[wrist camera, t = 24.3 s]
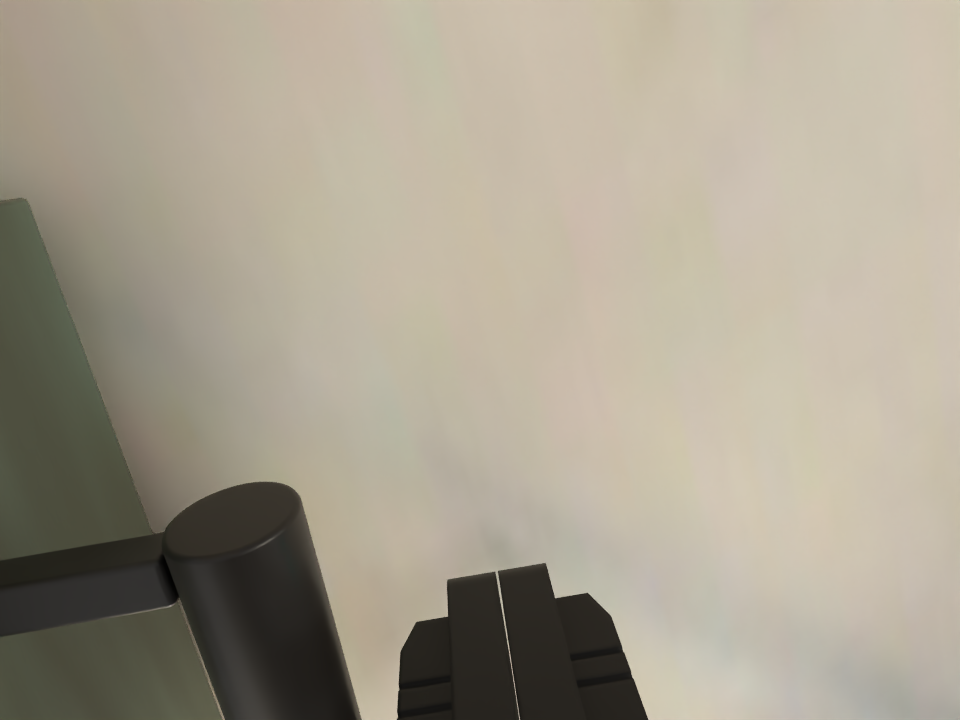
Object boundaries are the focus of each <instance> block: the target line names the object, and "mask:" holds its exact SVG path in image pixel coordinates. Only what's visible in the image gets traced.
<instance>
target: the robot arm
mask: <svg viewBox="0 0 960 720" xmlns="http://www.w3.org/2000/svg"><path fill="white" fill-rule="evenodd" d="M498 574H499V581H500V588H501V594H502V601H503V608H504V615H505V621H506V628H507V635H508V641H509V648H510V655H511V661H512V668H513V675H514V681H515V688H516V695H517V702H518V708H519V715H520V720H648V718H647V715H646V712H645V709H644V707H643V704H642V701H641V698H640V695H639V693H638V690H637V687H636V684H635V682H634V679H633V678H632V675H631V670H630V668H629V665H628V662H627V659H626V656H625V654H624V652H623V650H622V645H621V642H620V640H619V637H618V634H617V631H616V628H615V626H614V623H613V620H612V617H611V616H610V615H609V614H608V613H607V612H606V611H605V610H604V609H603V608H602V607H601V606H600V605H599V604H598V603H597V602H596V601H595V600H594V599H593V598H592V597H591V596H590V595H589V594H588V593H585V594H579V595H573V596H567V597H561V598H555V597H554V593H553V589H552V585H551V581H550V577H549V573H548V570H547V566H546V563H543V564H537V565H531V566H525V567H519V568H513V569H507V570H501V571H498ZM447 595H448V617H443V618H437V619H431V620H425V621H420V622H416V624H415V625H414V627H413V629H412V631H411V633H410V635H409V637H408V639H407V641H406V642H405V644H404V646H403V648H402V650H401V653H400V672H399V691H398V709H397V712H398V719H397V720H519V715H518V708H517V702H516V695H515V688H514V682H513V675H512V669H511V663H510V656H509V650H508V644H507V638H506V632H505V626H504V621H503V615H502V609H501V603H500V597H499V591H498V585H497V579H496V574H495V572H490V573H484V574H478V575H472V576H466V577H460V578H454V579H448V580H447Z"/></svg>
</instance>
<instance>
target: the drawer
mask: <svg viewBox="0 0 960 720" xmlns="http://www.w3.org/2000/svg"><path fill="white" fill-rule="evenodd" d="M179 598H180V600H181V602H182V605H183V608H184V610H185V613H186V616H187V619H188V621H189V624H190V627H191V629H192V632H193V635H194V637H195V640H196V643H197V645H198V648H199V651H200V653H201V656H202V659H203V661H204V664H205V667H206V669H207V672H208V675H209V677H210V680H211V683H212V686H213V688H214V691H215V694H216V696H217V699H218V702H219V704H220V707H221V710H222V712H223V715H224V718H225V720H362V719H361V715H360V712H359V708H358V704H357V701H356V697H355V694H354V690H353V686H352V683H351V679H350V675H349V672H348V668H347V664H346V661H345V657H344V654H343V650H342V646H341V643H340V639H339V635H338V632H337V628H336V624H335V621H334V617H333V614H332V610H331V606H330V603H329V599H328V595H327V592H326V588H325V584H324V581H323V577H322V574H321V570H320V566H319V563H318V559H317V555H316V552H315V548H314V545H313V541H312V537H311V534H310V530H309V526H308V523H307V519H306V515H305V512H304V508H303V505H302V501H301V498H300V496H299V495H298V493H297V492H296V491H295V490H294V489H293V488H291V487H289V486H288V485H285V484H282V483H277V482H253V483H247V484H241V485H237V486H233V487H230V488H227V489H224V490H221V491H218V492H216V493H213V494H211V495H209V496H207V497H205V498H203V499H201V500H199V501H197V502H195V503H194V504H192V505H191V506H189V507H188V508H186V509H185V510H183V511H182V512H181V513H180V514H178V515H177V516H176V517H175V518H174V519H173V520H172V521H171V523H170V524H169V525H168V527H167V528H166V530H165V532H163V533H157V534H152V531H151V528H150V526H149V523H148V520H147V518H146V515H145V512H144V510H143V507H142V504H141V502H140V499H139V496H138V494H137V491H136V488H135V486H134V483H133V480H132V478H131V475H130V472H129V470H128V467H127V464H126V462H125V459H124V456H123V454H122V451H121V448H120V446H119V443H118V440H117V438H116V435H115V432H114V430H113V427H112V424H111V422H110V419H109V416H108V414H107V411H106V408H105V406H104V403H103V400H102V398H101V395H100V392H99V390H98V387H97V384H96V382H95V379H94V376H93V374H92V371H91V368H90V366H89V363H88V360H87V358H86V355H85V352H84V350H83V347H82V344H81V342H80V339H79V336H78V334H77V331H76V328H75V326H74V323H73V320H72V318H71V315H70V312H69V310H68V307H67V304H66V302H65V299H64V296H63V294H62V291H61V288H60V286H59V283H58V280H57V278H56V275H55V272H54V270H53V267H52V264H51V262H50V259H49V256H48V254H47V251H46V248H45V246H44V243H43V240H42V238H41V235H40V232H39V230H38V227H37V224H36V222H35V219H34V216H33V214H32V211H31V208H30V206H29V203H28V201H27V200H26V199H24V198H17V199H10V200H4V201H0V720H222V717H221V715H220V712H219V709H218V707H217V704H216V701H215V699H214V696H213V693H212V691H211V688H210V685H209V683H208V680H207V677H206V675H205V672H204V669H203V667H202V664H201V661H200V659H199V656H198V653H197V651H196V648H195V645H194V643H193V640H192V637H191V635H190V632H189V629H188V627H187V624H186V621H185V619H184V616H183V613H182V611H181V608H180V605H179V603H178V600H179Z"/></svg>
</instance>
